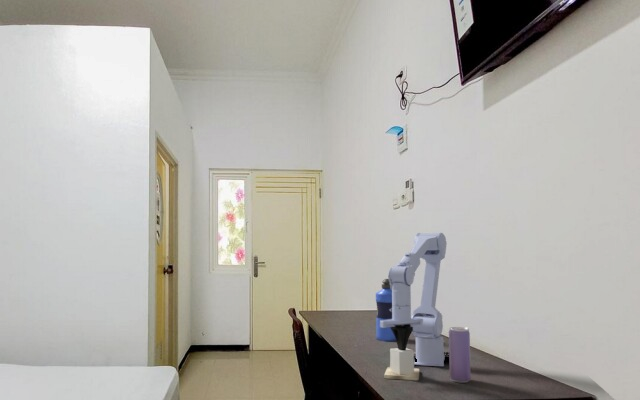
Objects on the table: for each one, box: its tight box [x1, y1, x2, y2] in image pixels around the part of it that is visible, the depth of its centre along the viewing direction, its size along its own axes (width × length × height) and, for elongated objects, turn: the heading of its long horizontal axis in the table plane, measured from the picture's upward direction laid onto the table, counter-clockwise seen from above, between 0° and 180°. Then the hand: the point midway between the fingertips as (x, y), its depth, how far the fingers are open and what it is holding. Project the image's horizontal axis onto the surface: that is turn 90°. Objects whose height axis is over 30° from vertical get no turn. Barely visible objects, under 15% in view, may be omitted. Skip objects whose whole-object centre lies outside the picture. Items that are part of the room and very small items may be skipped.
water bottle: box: [375, 278, 397, 342], centre depth 210 cm, size 9×9×25 cm
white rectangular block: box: [389, 347, 415, 375], centre depth 153 cm, size 5×5×7 cm
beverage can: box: [448, 326, 472, 384], centre depth 147 cm, size 6×6×15 cm
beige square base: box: [383, 366, 420, 381], centre depth 152 cm, size 10×10×6 cm
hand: (401, 350), depth 153 cm, fingers closed, pressing on white rectangular block
